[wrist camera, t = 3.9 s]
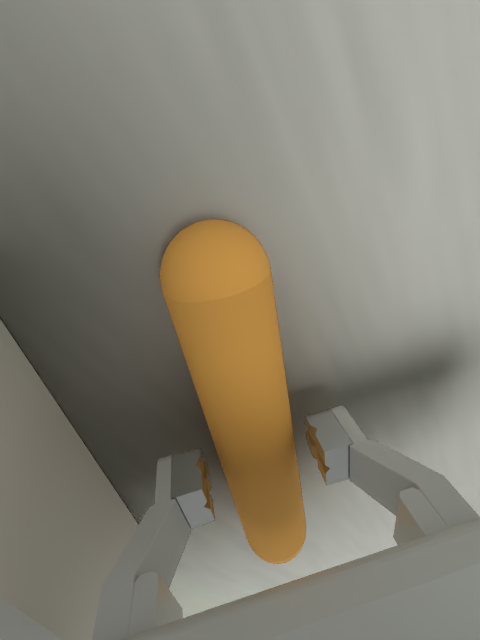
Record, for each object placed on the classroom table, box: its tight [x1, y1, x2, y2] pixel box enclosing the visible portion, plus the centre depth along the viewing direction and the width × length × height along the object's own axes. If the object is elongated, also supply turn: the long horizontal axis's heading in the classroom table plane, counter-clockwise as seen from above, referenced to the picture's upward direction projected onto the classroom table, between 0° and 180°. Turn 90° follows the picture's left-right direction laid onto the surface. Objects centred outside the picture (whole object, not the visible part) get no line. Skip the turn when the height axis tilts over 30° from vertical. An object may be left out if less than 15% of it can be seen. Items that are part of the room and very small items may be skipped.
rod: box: [160, 219, 306, 564], centre depth 11 cm, size 3×16×3 cm, turn 12°
